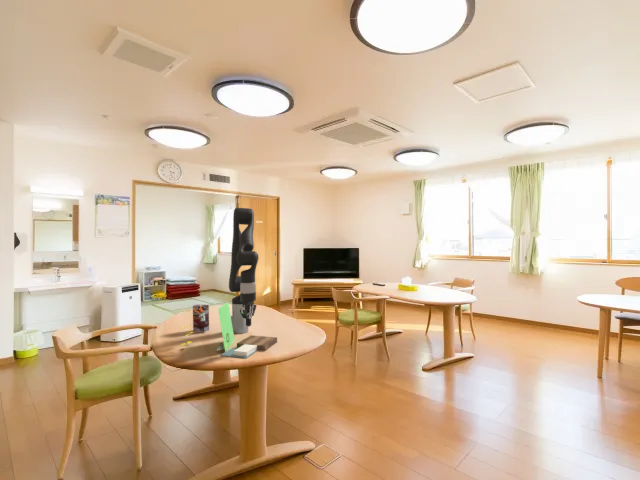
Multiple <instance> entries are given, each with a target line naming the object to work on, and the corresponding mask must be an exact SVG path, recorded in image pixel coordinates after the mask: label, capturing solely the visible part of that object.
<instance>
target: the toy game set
mask: <svg viewBox="0 0 640 480" xmlns="http://www.w3.org/2000/svg"><path fill="white" fill-rule="evenodd" d="M201 305H202V304H201ZM201 305H200V308H199V310H200V311H201V313H199V311H196V310H195V308H193V307H192V311H193V310H194V311H195V312H197V313H198V314H199V315H200V316H202V317H203V318H202V317H201V320H200V321H205V318H206V316H205V315H206V313H205V312H204V311H203V310H202V308H201ZM187 312H188V313H189V312H191V310H190V309H189V310H185V311H184V313H187ZM218 315H219V317H218V318H219V323H220V328H221V334H222V339H223V341H221V342H220V345H221V346H218V347H217V348H216V351H221V350H224V353H225V352H226V351H228V350H229V348H230V347H231V345H232V344H233V342H234V341H235V333H233V328H232V322H231V316H232V315H231V310H230V305H229V301H227V302H225V303H223V304H222V305H221V306H220V307H218ZM200 316H199V317H200ZM189 327H192V326H191V325H187V326H183V327H180V330H181V329H185V328H189ZM191 330H192V329H188V330H187V332H188V334H185V335H184V337H187V336H190V334H192V333H194V331H191ZM192 343H193V342H192V340H191V341H186V342H184V343H181V344H180V346H181V347H184V346H185V347H186V344H187V345H188V344H192Z"/></svg>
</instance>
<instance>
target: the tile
mask: <svg viewBox="0 0 640 480" xmlns="http://www.w3.org/2000/svg"><path fill="white" fill-rule="evenodd" d="M256 350H257V345H248V344H244V345H243V346H241V347H239V348H238V349H236V350H234V355H238V356H248V355H250V354H251V353H253V352H254V351H256ZM256 352H257V351H256Z"/></svg>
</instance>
